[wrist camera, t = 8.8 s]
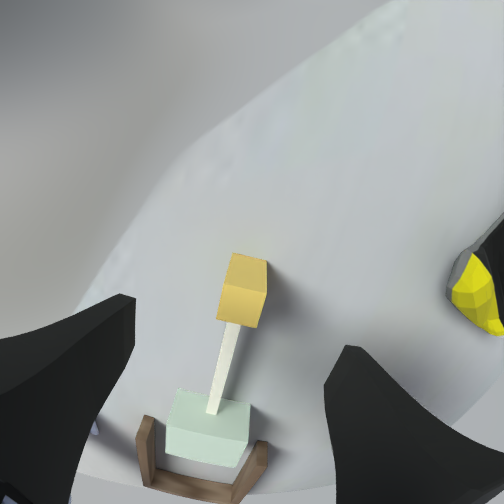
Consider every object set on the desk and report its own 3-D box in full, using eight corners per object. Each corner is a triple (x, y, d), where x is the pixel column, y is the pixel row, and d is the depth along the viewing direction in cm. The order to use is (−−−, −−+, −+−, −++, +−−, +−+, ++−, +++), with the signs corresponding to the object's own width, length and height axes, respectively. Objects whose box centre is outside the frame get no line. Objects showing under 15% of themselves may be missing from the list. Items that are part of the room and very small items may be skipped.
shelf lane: (148, 468, 27) (143, 485, 25) (144, 414, 23) (135, 438, 20) (238, 488, 28) (236, 506, 25) (267, 441, 23) (267, 466, 20)
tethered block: (175, 419, 23) (165, 453, 19) (199, 244, 17) (181, 272, 13) (238, 433, 23) (234, 467, 19) (299, 268, 17) (308, 302, 13)
